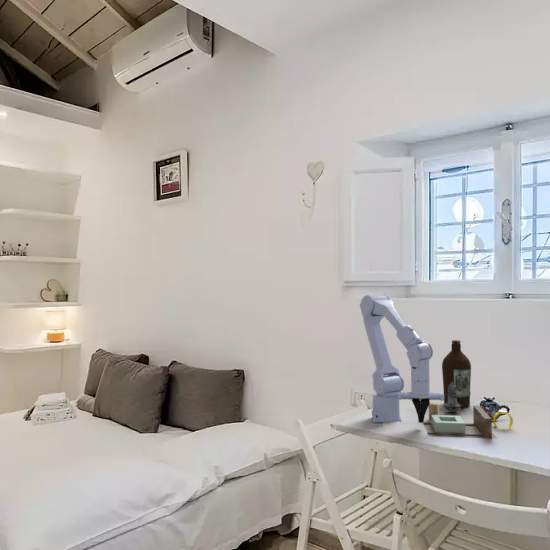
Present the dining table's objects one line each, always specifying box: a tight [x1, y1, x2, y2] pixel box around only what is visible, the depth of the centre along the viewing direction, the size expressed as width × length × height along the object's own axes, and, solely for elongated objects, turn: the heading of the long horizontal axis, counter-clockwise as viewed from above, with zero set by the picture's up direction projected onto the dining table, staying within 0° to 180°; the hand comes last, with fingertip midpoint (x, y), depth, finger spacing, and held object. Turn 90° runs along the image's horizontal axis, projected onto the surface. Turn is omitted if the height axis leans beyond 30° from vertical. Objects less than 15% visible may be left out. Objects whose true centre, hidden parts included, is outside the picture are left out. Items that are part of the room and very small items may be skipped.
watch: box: [492, 409, 514, 429], centre depth 169 cm, size 6×3×6 cm, turn 86°
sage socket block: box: [431, 414, 466, 433], centre depth 167 cm, size 9×9×3 cm
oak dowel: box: [428, 402, 439, 422], centre depth 178 cm, size 3×3×6 cm
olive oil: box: [441, 339, 472, 409], centre depth 200 cm, size 11×11×25 cm
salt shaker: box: [443, 382, 461, 415], centre depth 187 cm, size 6×6×12 cm
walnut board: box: [422, 405, 498, 440], centre depth 167 cm, size 20×16×7 cm
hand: (420, 422), depth 168 cm, fingers closed
